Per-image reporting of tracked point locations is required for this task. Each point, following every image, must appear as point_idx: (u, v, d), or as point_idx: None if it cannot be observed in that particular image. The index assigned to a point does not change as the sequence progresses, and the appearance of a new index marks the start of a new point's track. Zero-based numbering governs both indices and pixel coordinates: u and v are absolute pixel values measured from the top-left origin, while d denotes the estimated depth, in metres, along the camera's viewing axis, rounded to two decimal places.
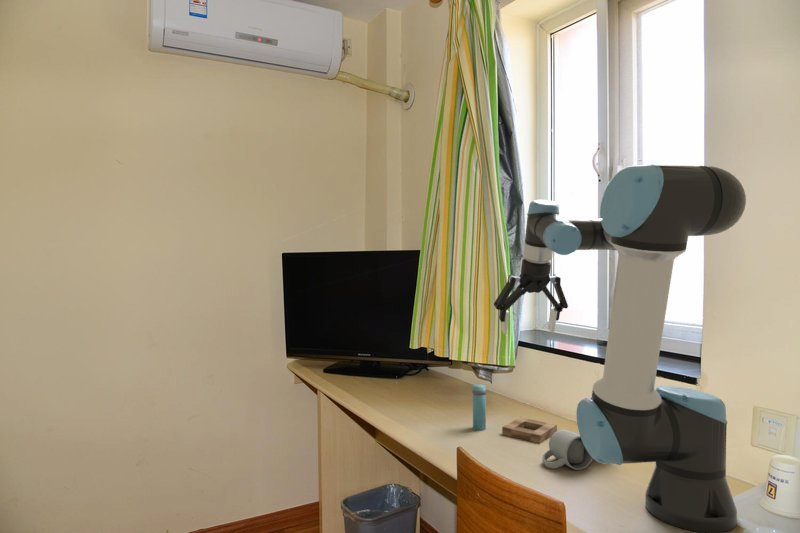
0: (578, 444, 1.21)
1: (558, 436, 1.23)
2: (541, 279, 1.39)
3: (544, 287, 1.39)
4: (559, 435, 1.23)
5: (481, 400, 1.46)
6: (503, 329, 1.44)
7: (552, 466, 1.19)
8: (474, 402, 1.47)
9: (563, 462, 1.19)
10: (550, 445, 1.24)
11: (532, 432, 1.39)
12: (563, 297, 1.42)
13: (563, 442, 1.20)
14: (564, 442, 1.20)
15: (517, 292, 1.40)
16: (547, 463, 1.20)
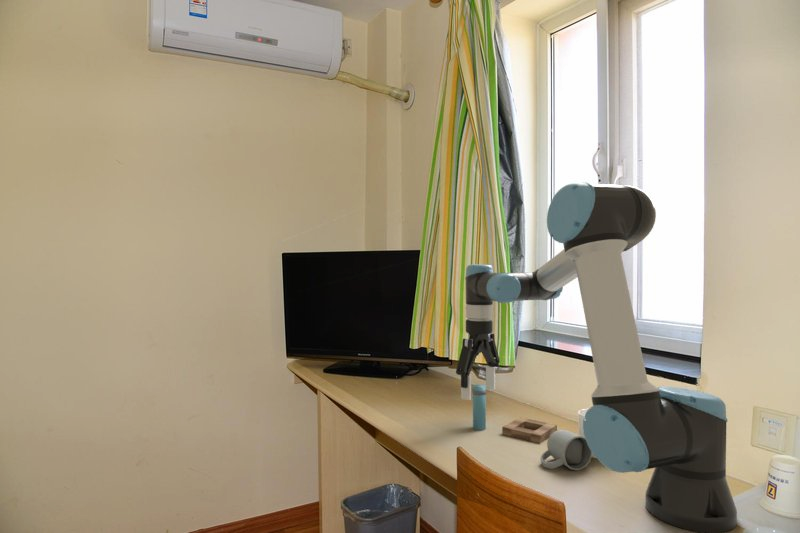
0: (576, 444, 1.20)
1: (557, 436, 1.23)
2: (485, 337, 1.48)
3: (488, 345, 1.49)
4: (557, 435, 1.23)
5: (481, 400, 1.46)
6: (467, 396, 1.42)
7: (550, 466, 1.19)
8: (474, 402, 1.47)
9: (561, 462, 1.19)
10: (548, 445, 1.24)
11: (532, 432, 1.39)
12: (496, 352, 1.54)
13: (561, 442, 1.20)
14: (563, 442, 1.20)
15: (472, 354, 1.44)
16: (545, 463, 1.20)
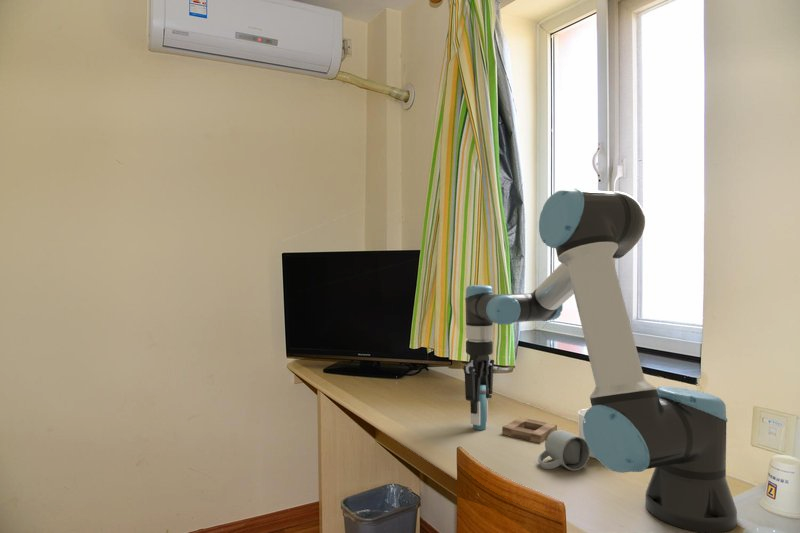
0: (574, 444, 1.20)
1: (554, 436, 1.23)
2: (486, 355, 1.48)
3: (487, 367, 1.48)
4: (555, 435, 1.23)
5: (481, 399, 1.46)
6: (476, 421, 1.46)
7: (548, 467, 1.19)
8: None
9: (559, 462, 1.18)
10: (546, 446, 1.24)
11: (532, 432, 1.39)
12: (492, 381, 1.51)
13: (559, 443, 1.20)
14: (560, 442, 1.19)
15: (476, 379, 1.45)
16: (543, 464, 1.20)
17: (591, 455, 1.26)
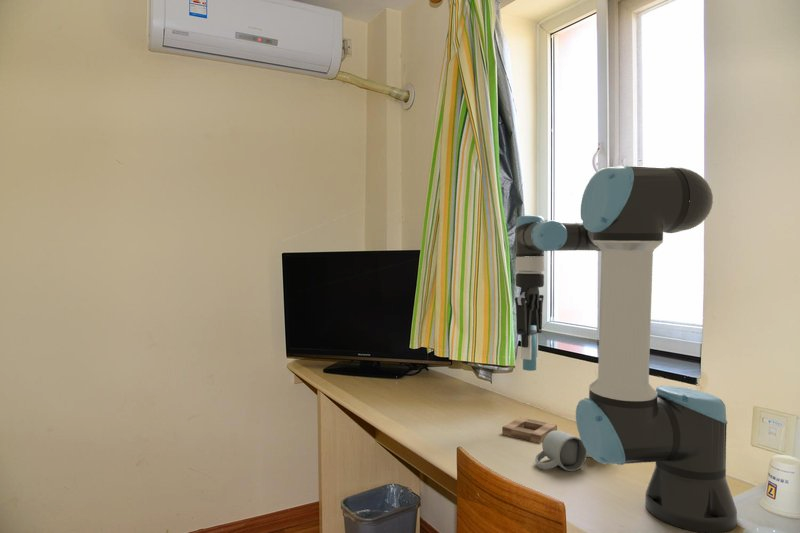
0: (571, 445, 1.20)
1: (552, 437, 1.22)
2: (536, 289, 1.44)
3: (538, 301, 1.43)
4: (552, 436, 1.23)
5: (532, 339, 1.42)
6: (527, 356, 1.41)
7: (545, 467, 1.19)
8: None
9: (556, 463, 1.18)
10: (543, 446, 1.24)
11: (532, 432, 1.39)
12: (541, 317, 1.47)
13: (555, 443, 1.20)
14: (557, 443, 1.19)
15: (527, 311, 1.41)
16: (540, 464, 1.19)
17: None
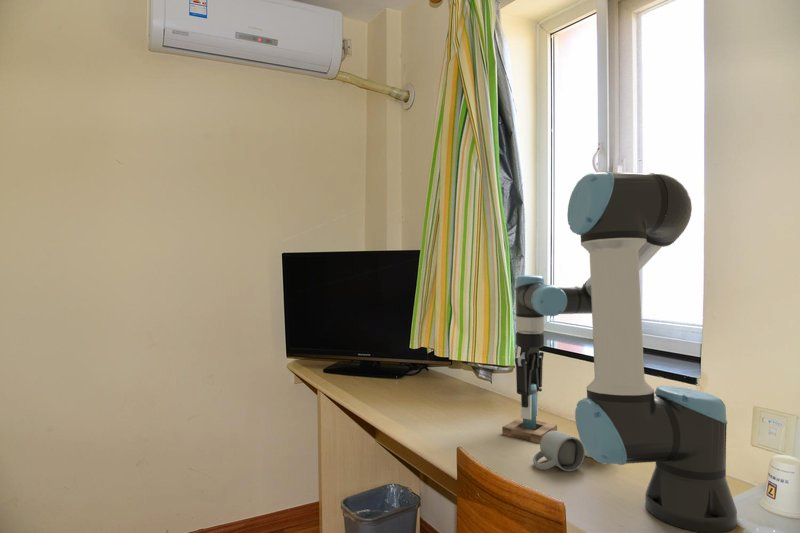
0: (569, 445, 1.20)
1: (549, 437, 1.22)
2: (536, 348, 1.44)
3: (538, 360, 1.44)
4: (550, 436, 1.22)
5: (532, 399, 1.42)
6: (527, 415, 1.42)
7: (542, 467, 1.18)
8: None
9: (553, 463, 1.18)
10: (541, 446, 1.23)
11: (532, 432, 1.39)
12: (541, 374, 1.47)
13: (553, 443, 1.19)
14: (555, 443, 1.19)
15: (527, 371, 1.41)
16: (538, 464, 1.19)
17: None
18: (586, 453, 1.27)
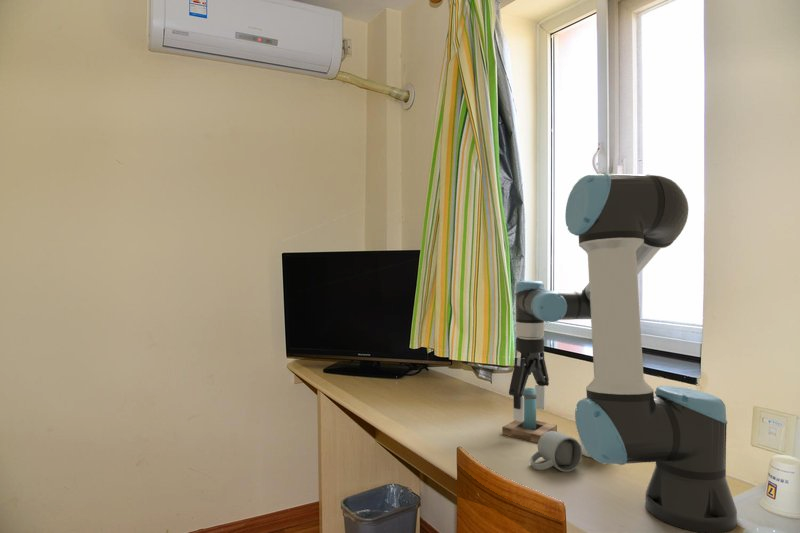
0: (566, 445, 1.20)
1: (547, 437, 1.22)
2: (535, 356, 1.44)
3: (539, 363, 1.44)
4: (547, 436, 1.22)
5: (532, 404, 1.42)
6: (519, 417, 1.38)
7: (540, 468, 1.18)
8: (524, 406, 1.43)
9: (551, 464, 1.18)
10: (539, 446, 1.23)
11: (532, 432, 1.39)
12: (546, 371, 1.49)
13: (551, 444, 1.19)
14: (552, 443, 1.19)
15: (524, 374, 1.40)
16: (535, 465, 1.19)
17: None
18: (586, 453, 1.27)
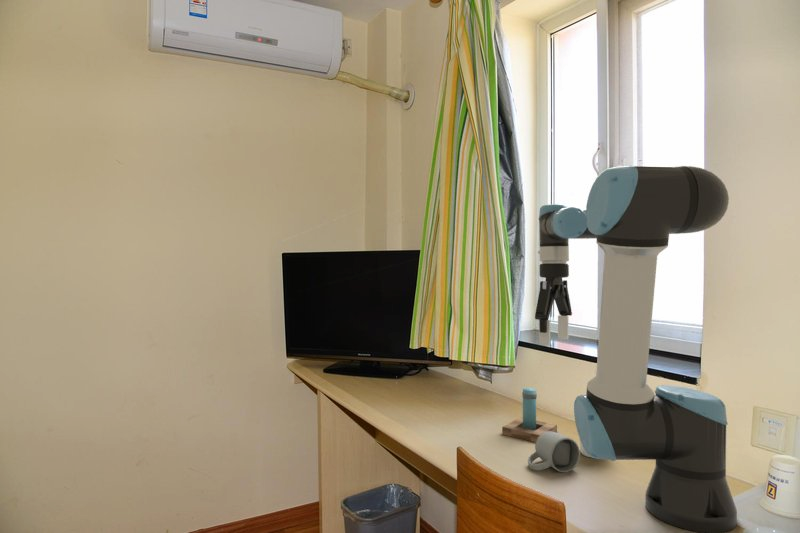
0: (564, 446, 1.19)
1: (544, 438, 1.22)
2: (560, 282, 1.41)
3: (563, 290, 1.41)
4: (545, 437, 1.22)
5: (532, 404, 1.42)
6: (546, 341, 1.34)
7: (537, 468, 1.18)
8: (524, 406, 1.43)
9: (548, 464, 1.18)
10: (536, 447, 1.23)
11: (532, 432, 1.39)
12: (569, 301, 1.46)
13: (548, 444, 1.19)
14: (550, 444, 1.19)
15: (550, 298, 1.36)
16: (532, 465, 1.19)
17: None
18: (586, 453, 1.27)
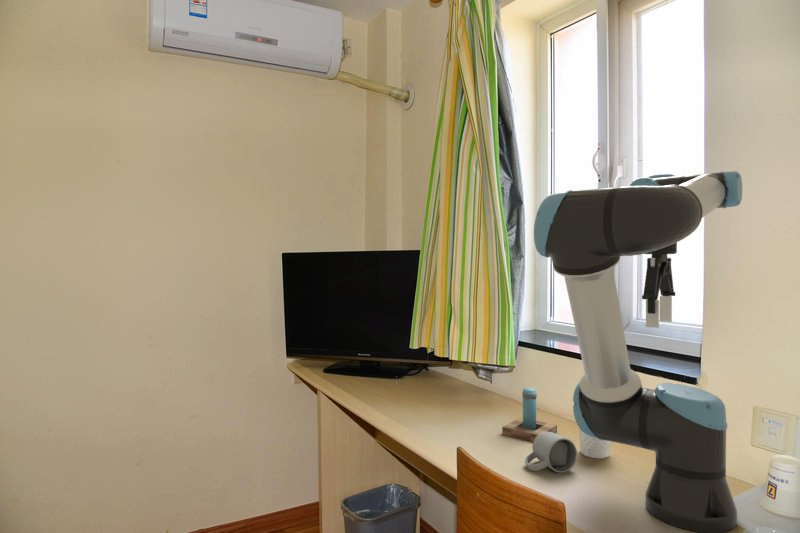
0: (561, 446, 1.19)
1: (542, 438, 1.22)
2: (665, 260, 1.29)
3: (669, 268, 1.30)
4: (542, 437, 1.22)
5: (532, 404, 1.42)
6: (654, 323, 1.23)
7: (534, 468, 1.18)
8: (524, 406, 1.43)
9: (545, 464, 1.17)
10: (533, 447, 1.23)
11: (532, 432, 1.39)
12: (672, 280, 1.35)
13: (545, 444, 1.19)
14: (547, 444, 1.18)
15: (657, 276, 1.25)
16: (529, 465, 1.19)
17: (591, 455, 1.26)
18: (586, 453, 1.27)
